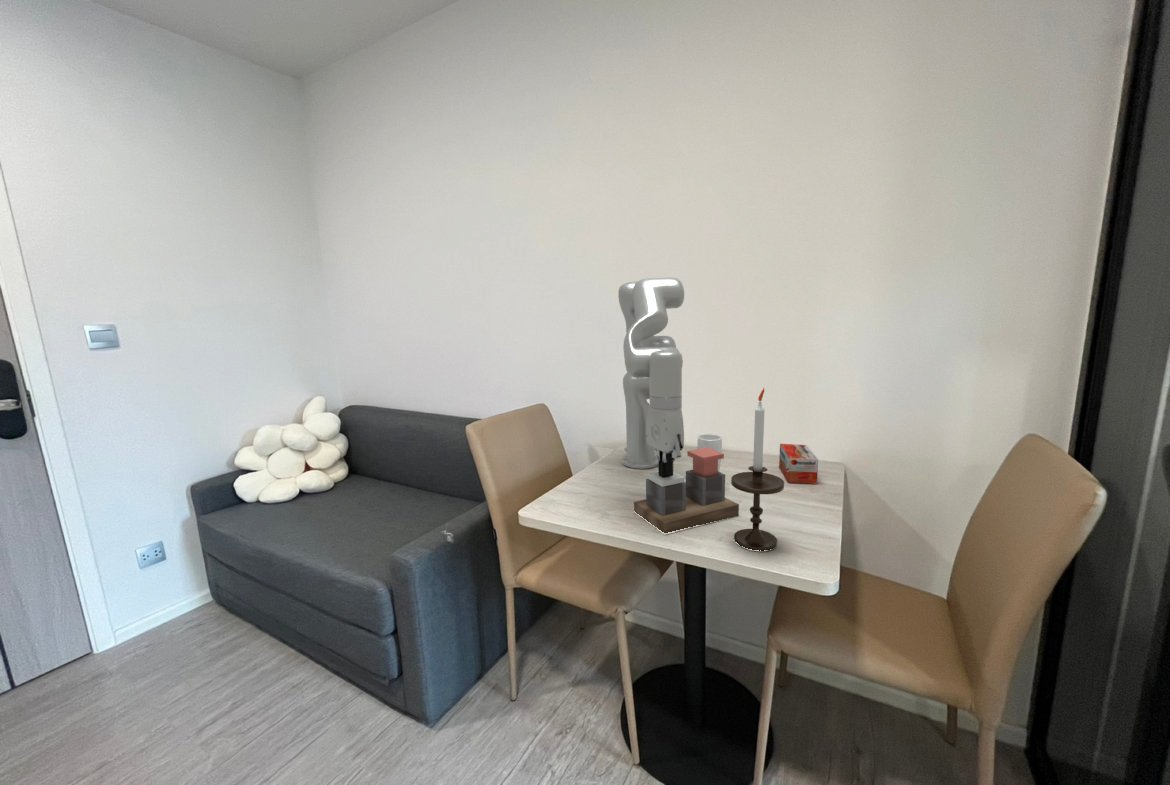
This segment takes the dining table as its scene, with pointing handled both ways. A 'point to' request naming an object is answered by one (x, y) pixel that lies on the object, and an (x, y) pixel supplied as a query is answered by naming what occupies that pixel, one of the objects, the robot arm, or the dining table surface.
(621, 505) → the dining table surface
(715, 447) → the drinking glass
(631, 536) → the dining table surface
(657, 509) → the board
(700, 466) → the red plunger
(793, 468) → the medicine box
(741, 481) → the candlestick
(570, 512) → the dining table surface
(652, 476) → the grey plunger
